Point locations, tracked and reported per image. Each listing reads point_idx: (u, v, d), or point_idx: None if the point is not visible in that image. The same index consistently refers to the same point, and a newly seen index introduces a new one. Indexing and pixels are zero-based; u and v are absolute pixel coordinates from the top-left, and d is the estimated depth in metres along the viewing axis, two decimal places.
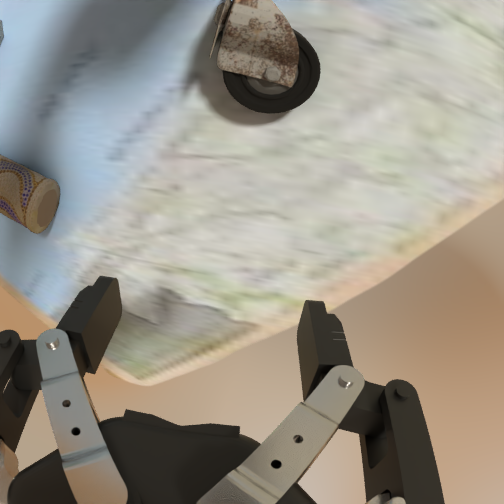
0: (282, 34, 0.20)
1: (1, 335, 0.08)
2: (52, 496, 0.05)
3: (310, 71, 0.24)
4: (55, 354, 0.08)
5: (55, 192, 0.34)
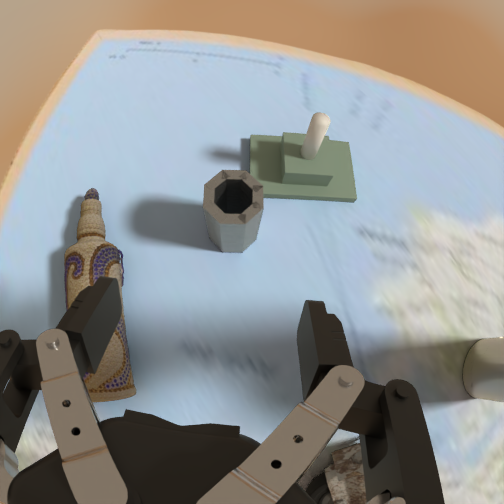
0: None
1: (2, 335, 0.08)
2: (52, 496, 0.05)
3: None
4: (55, 354, 0.08)
5: None
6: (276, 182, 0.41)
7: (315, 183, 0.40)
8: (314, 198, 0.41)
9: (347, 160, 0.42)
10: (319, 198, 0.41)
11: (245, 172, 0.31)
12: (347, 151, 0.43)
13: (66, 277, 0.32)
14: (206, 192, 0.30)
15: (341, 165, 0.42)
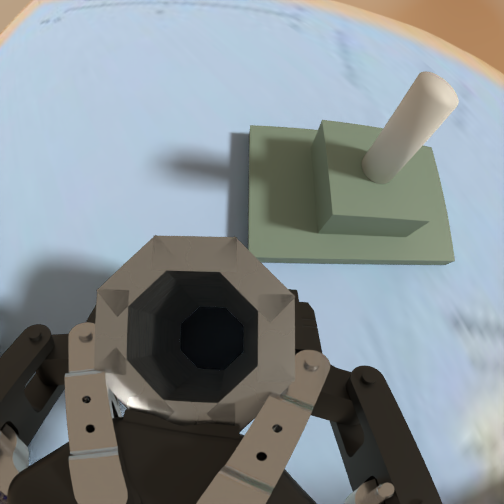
0: None
1: (32, 330, 0.09)
2: (52, 496, 0.05)
3: None
4: (86, 348, 0.09)
5: None
6: (305, 229, 0.19)
7: (386, 233, 0.18)
8: (380, 262, 0.19)
9: (434, 182, 0.21)
10: (390, 262, 0.19)
11: (233, 244, 0.09)
12: (432, 164, 0.21)
13: None
14: (102, 319, 0.08)
15: (426, 192, 0.20)
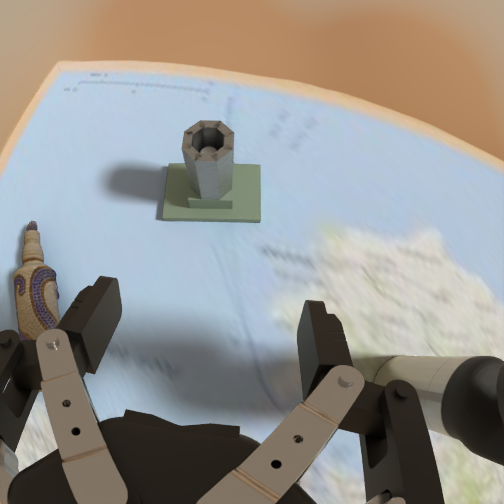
0: None
1: (2, 335, 0.08)
2: (52, 496, 0.05)
3: None
4: (55, 354, 0.08)
5: None
6: (185, 206, 0.46)
7: (220, 207, 0.46)
8: (220, 220, 0.46)
9: (256, 182, 0.48)
10: (225, 220, 0.46)
11: (219, 122, 0.35)
12: (257, 174, 0.48)
13: (15, 295, 0.37)
14: (185, 137, 0.34)
15: (249, 188, 0.47)
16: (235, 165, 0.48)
